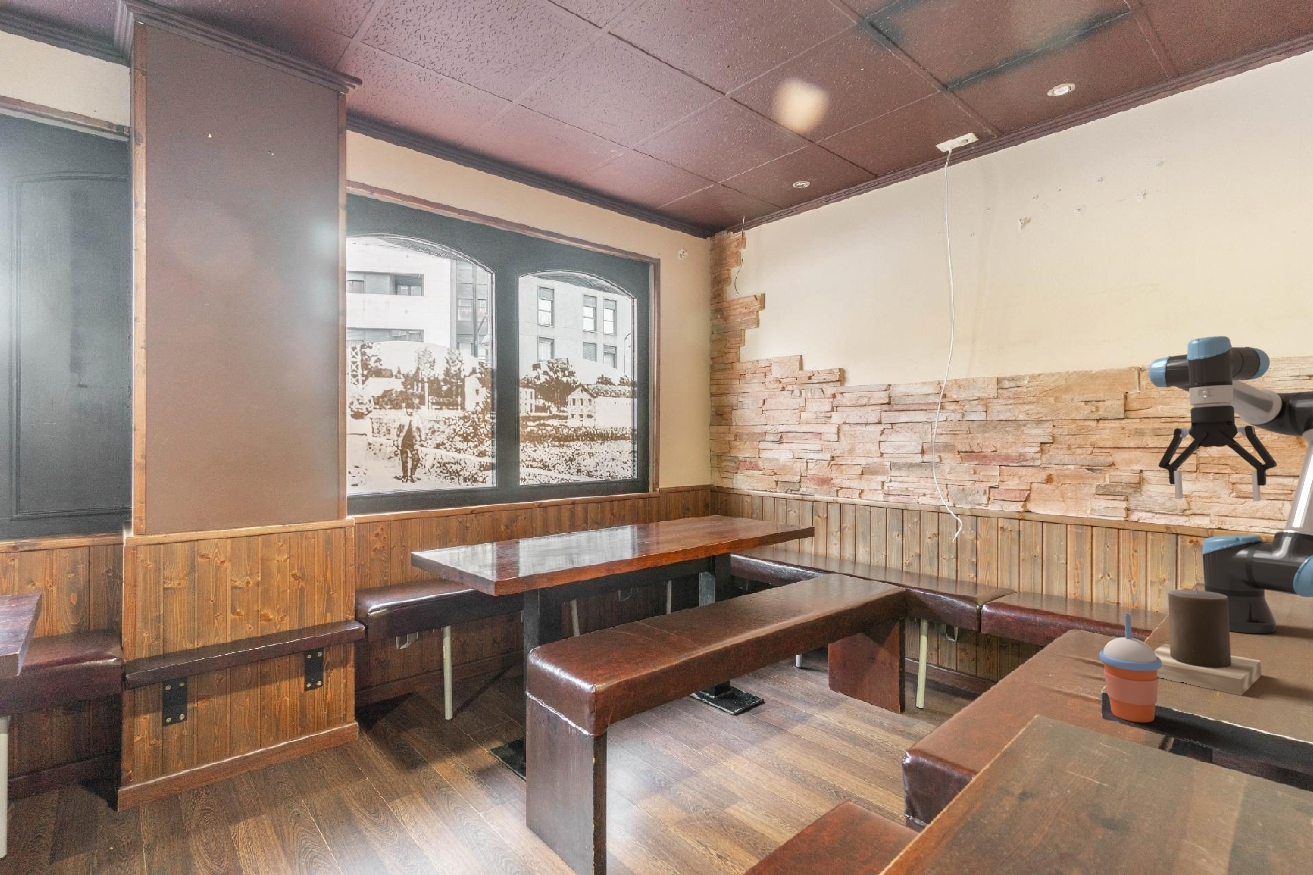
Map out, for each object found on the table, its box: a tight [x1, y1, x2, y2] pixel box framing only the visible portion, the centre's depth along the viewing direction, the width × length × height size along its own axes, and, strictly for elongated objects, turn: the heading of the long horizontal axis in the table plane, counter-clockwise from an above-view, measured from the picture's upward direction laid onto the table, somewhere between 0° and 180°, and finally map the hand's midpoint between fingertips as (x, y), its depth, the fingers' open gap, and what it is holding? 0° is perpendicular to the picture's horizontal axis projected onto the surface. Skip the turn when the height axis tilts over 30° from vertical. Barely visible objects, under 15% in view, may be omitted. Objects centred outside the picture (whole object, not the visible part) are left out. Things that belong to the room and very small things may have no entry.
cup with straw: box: [1098, 613, 1162, 723], centre depth 116 cm, size 9×9×18 cm
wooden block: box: [1153, 643, 1262, 696], centre depth 135 cm, size 16×16×3 cm
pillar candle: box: [1167, 587, 1232, 668], centre depth 135 cm, size 10×10×15 cm
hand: (1216, 499), depth 147 cm, fingers open, 13 cm apart
